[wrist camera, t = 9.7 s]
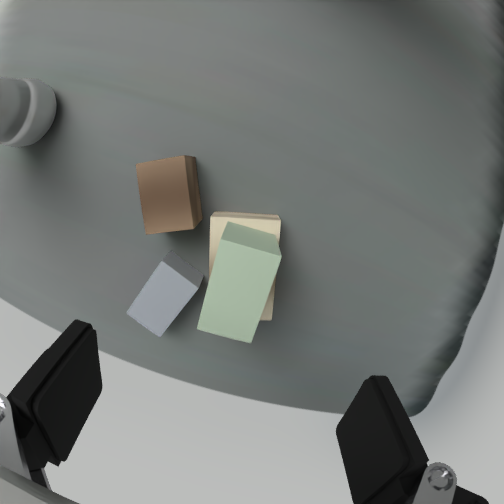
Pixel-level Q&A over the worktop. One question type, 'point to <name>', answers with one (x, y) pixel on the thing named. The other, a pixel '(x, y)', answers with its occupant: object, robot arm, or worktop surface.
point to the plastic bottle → (25, 110)
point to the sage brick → (239, 282)
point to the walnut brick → (169, 194)
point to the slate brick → (165, 293)
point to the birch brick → (250, 220)
